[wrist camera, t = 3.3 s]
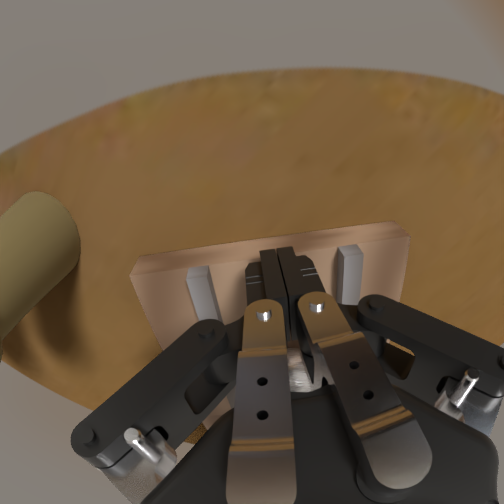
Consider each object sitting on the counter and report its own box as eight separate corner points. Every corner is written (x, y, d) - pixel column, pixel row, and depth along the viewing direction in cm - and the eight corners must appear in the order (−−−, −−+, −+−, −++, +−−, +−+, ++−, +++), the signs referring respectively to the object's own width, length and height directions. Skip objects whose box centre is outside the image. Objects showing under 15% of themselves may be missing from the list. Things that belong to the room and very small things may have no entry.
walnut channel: (394, 220, 16) (419, 244, 13) (354, 414, 27) (361, 436, 24) (139, 256, 16) (123, 286, 13) (220, 434, 27) (220, 458, 25)
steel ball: (318, 327, 17) (337, 386, 13) (316, 370, 19) (330, 423, 15) (244, 338, 17) (248, 400, 13) (254, 380, 19) (258, 434, 15)
